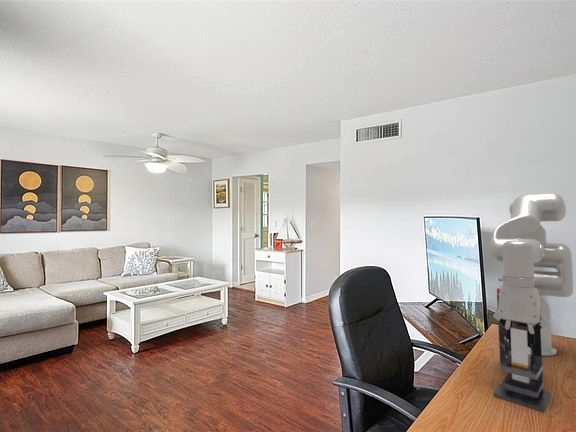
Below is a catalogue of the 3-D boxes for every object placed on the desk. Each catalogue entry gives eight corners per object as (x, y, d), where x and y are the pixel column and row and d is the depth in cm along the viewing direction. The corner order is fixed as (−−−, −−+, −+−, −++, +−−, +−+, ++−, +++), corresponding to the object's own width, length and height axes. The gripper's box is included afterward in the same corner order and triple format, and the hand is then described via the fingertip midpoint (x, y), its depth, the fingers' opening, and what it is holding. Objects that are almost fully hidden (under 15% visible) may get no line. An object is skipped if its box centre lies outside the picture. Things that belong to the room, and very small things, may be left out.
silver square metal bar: (515, 374, 101) (513, 324, 101) (531, 378, 98) (530, 327, 99) (512, 379, 98) (510, 327, 99) (528, 383, 95) (527, 330, 96)
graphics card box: (545, 386, 103) (542, 298, 104) (520, 385, 105) (517, 298, 105) (518, 363, 120) (516, 288, 121) (497, 362, 121) (495, 287, 122)
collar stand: (504, 382, 107) (503, 347, 107) (551, 395, 98) (550, 358, 98) (493, 396, 98) (492, 358, 99) (544, 412, 90) (542, 371, 90)
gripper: (483, 280, 102) (485, 340, 102) (552, 287, 90) (554, 355, 90) (490, 277, 108) (492, 334, 107) (556, 283, 96) (558, 348, 95)
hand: (520, 343), depth 98 cm, fingers closed on silver square metal bar, 4 cm apart
